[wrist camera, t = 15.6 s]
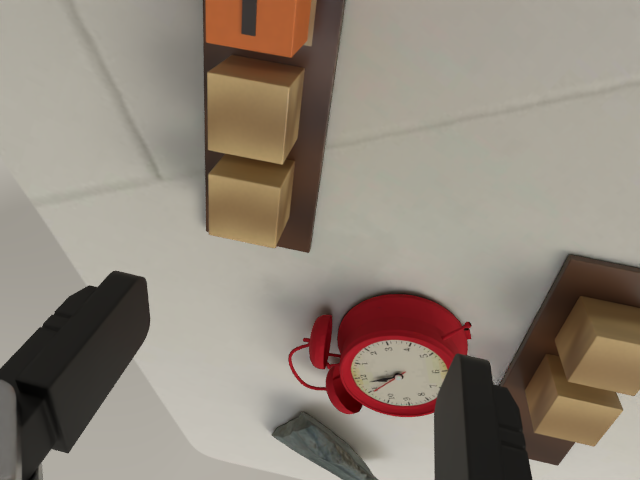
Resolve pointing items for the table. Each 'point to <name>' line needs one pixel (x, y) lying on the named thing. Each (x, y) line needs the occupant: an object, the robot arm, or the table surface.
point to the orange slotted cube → (258, 25)
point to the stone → (323, 448)
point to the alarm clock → (387, 354)
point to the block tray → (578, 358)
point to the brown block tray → (269, 134)
